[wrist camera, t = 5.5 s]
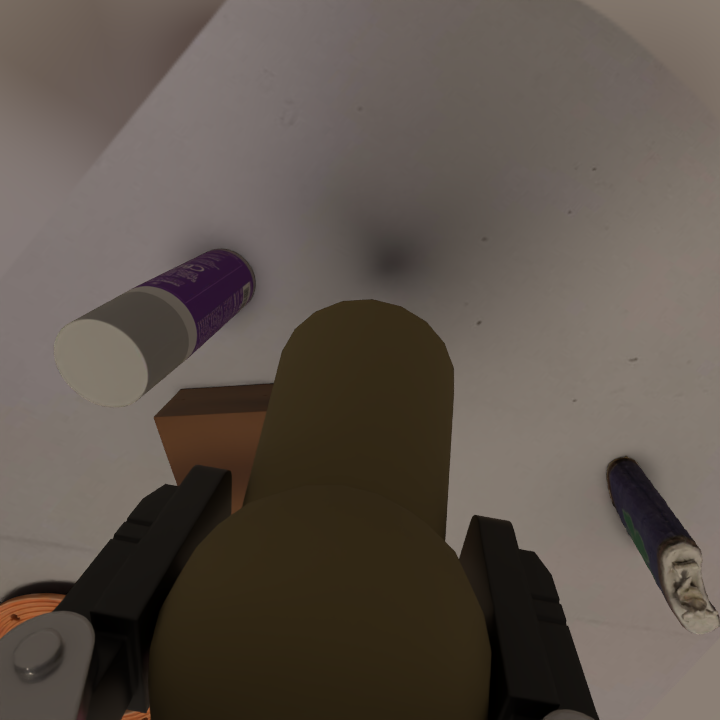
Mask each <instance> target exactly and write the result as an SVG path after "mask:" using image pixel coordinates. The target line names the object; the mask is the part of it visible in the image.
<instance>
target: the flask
mask: <svg viewBox="0 0 720 720" xmlns="http://www.w3.org/2000/svg"><path fill="white" fill-rule="evenodd" d="M607 482H608V490H609V494H610V498H611V499H612V503H613V506H614V507H615V508H616V511H617V512H618V514H619V516H620V519H621V521H622V523H623V525H624V526H625V528H626V530H627V532H628V534H629V535H630V537H631V538H632V540H633V542H634V544H635V545H636V547H637V549H638V550H639V552H640V554H641V555H642V557H643V559H644V561H645V563H646V565H647V567H648V568H649V570H650V571H651V573H652V575H653V577H654V579H655V581H656V584H657V585H658V587H659V588H660V590H661V591H662V593H663V595H664V597H665V599H666V601H667V603H668V605H669V607H670V608H671V610H672V612H673V613H674V614H675V616H676V617H677V619H678V620H679V622H680V623H681V625H682V626H683V627H684V628H685V629H686V630H688V631H689V632H691V633H694V634H706V633H708V632H711V631H714V630H715V629H716V628H718V627H720V620H719V615H718V611H716V609H715V607H714V606H713V605H712V604H711V603H710V601H709V599H708V595H707V594H706V591H705V588H704V584H703V580H702V575H701V567H702V566H701V563H702V561H703V560H702V554H701V550H700V549H699V547H698V546H697V545H696V543H695V541H694V540H693V539H692V538H691V536H690V535H689V533H688V532H687V530H685V529H684V527H683V526H682V524H681V523H680V521H679V520H678V518H676V517H675V515H674V513H673V512H672V511H671V509H670V508H669V507H668V505H667V503H666V502H665V500H664V499H663V498H662V497H661V495H660V494H659V493H658V491H657V490H656V489H655V488H654V486H653V485H652V483H651V482H650V480H649V479H648V478H647V477H646V475H645V474H644V472H643V471H642V469H641V468H640V467H639V466H638V463H637V462H636V461H635V460H632V459H631V458H628V457H627V456H625V457H624V458H618V459H615V460H614V461H612V462H611V463H610V464H609V466H608V468H607Z"/></svg>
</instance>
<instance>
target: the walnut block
mask: <svg viewBox="0 0 720 720" xmlns="http://www.w3.org/2000/svg"><path fill="white" fill-rule="evenodd" d="M273 385H274V384H260V385H244V386H228V387H212V388H196V389H181V390H180V391H179V392H178V393H177V394H176V395H175V396H174V397H173V398H172V399H171V400H170V401H169V402H168V403H167V404H166V405H165V406H164V407H163V408H162V409H161V410H160V411H159V412H158V413H157V414H156V415H155V416H154V420H155V423H156V426H157V429H158V432H159V434H160V437H161V440H162V443H163V446H164V449H165V451H166V454H167V457H168V460H169V463H170V466H171V469H172V471H173V474H174V477H175V480H176V483H177V486H179V485H180V484H181V483H182V481H183V480H184V478H185V477H186V476H187V474H188V473H189V471H190V470H191V469H192V468H193V467H194V466H195V465H203V466H209V467H215V468H220V469H226V470H230V471H231V473H232V508H231V515H232V514H233V513H235V512H236V511H238V510H239V509H241V508H242V504H243V501H244V497H245V493H246V489H247V485H248V481H249V477H250V474H251V470H252V466H253V462H254V458H255V454H256V450H257V447H258V443H259V439H260V435H261V431H262V427H263V423H264V420H265V416H266V412H267V408H268V404H269V400H270V396H271V393H272V389H273Z"/></svg>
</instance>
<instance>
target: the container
mask: <svg viewBox="0 0 720 720" xmlns="http://www.w3.org/2000/svg"><path fill="white" fill-rule="evenodd" d="M254 291H255V277H254V273H253V271H252V269H251V267H250V265H249V264H248V263H247V261H246V260H245V259H244V258H243V257H241V256H240V255H239V254H237V253H235V252H233V251H230V250H227V249H214V250H211V251H209V252H206V253H204V254H202V255H200V256H198V257H196V258H194V259H192V260H190V261H188V262H186V263H184V264H182V265H179V266H177V267H175V268H173V269H171V270H169V271H167V272H165V273H163V274H161V275H159V276H157V277H155V278H153V279H151V280H149V281H147V282H145V283H143V284H141V285H139V286H137V287H134V288H132V289H131V290H129V291H127V292H125V293H124V294H122V295H120V296H118V297H116V298H114V299H113V300H111V301H109V302H107V303H105V304H103V305H102V306H100V307H98V308H96V309H94V310H92V311H91V312H89V313H87V314H85V315H83V316H82V317H80V318H78V319H76V320H74V321H72V322H71V323H69V324H67V325H66V326H65V327H63V328H62V329H61V331H60V332H59V334H58V335H57V337H56V340H55V344H54V357H55V362H56V365H57V368H58V370H59V372H60V374H61V376H62V377H63V379H64V380H65V381H66V383H67V384H68V385H69V386H70V387H71V388H72V389H73V390H74V391H75V392H76V393H77V394H79V395H80V396H82V397H83V398H85V399H86V400H88V401H90V402H92V403H95V404H97V405H101V406H105V407H124V406H128V405H130V404H132V403H134V402H136V401H137V400H138V399H140V398H141V397H142V396H143V395H144V394H145V393H147V392H148V391H149V390H150V389H151V388H153V387H154V386H155V385H156V384H157V383H159V382H160V381H161V380H162V379H163V378H165V377H166V376H167V375H168V374H169V373H171V372H172V371H173V370H174V369H175V368H177V367H178V366H179V365H180V364H181V363H183V362H184V361H185V360H186V359H188V358H189V357H190V356H191V355H192V354H193V353H194V352H195V351H196V350H197V349H198V348H200V347H201V346H202V345H203V344H204V343H205V342H206V341H207V340H208V339H209V338H210V337H212V336H213V335H214V334H215V333H216V332H217V331H218V330H219V329H220V328H221V327H222V326H223V325H225V324H226V323H227V322H228V321H229V320H230V319H231V318H232V317H233V316H234V315H235V314H237V313H238V312H239V311H240V310H241V309H242V308H243V307H244V306H245V305H246V304H247V303H248V302H249V301H250V300H251V298H252V296H253V294H254Z"/></svg>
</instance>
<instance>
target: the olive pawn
mask: <svg viewBox="0 0 720 720" xmlns="http://www.w3.org/2000/svg"><path fill="white" fill-rule="evenodd" d="M453 400H454V367H453V365H452V362H451V359H450V357H449V354H448V351H447V349H446V346H445V343H444V342H443V341H442V340H441V339H440V337H439V336H438V335H437V334H436V333H435V331H434V330H433V329H432V328H431V327H430V326H429V324H428V323H427V322H426V321H424V320H423V319H421V318H419V317H418V316H416V315H414V314H413V313H411V312H409V311H408V310H406V309H405V308H403V307H401V306H397V305H393V304H389V303H385V302H381V301H377V300H373V299H370V300H353V301H342V302H339V303H337V304H334V305H331V306H329V307H326V308H324V309H321V310H319V311H316V312H315V313H314V314H312V315H311V316H310V317H309V318H308V319H306V320H305V321H304V322H303V323H302V324H300V325H299V326H298V327H297V328H296V329H295V330H294V332H293V333H292V335H291V337H290V339H289V340H288V342H287V344H286V346H285V347H284V349H283V351H282V354H281V358H280V362H279V366H278V369H277V373H276V377H275V381H274V385H273V389H272V393H271V396H270V400H269V404H268V408H267V412H266V416H265V420H264V423H263V427H262V431H261V435H260V439H259V443H258V447H257V450H256V454H255V458H254V462H253V466H252V470H251V474H250V477H249V481H248V485H247V489H246V493H245V497H244V501H243V504H242V508H241V509H239V510H238V511H236V512H235V513H233V514H232V515H231V516H229V517H228V518H226V519H225V520H224V521H222V522H221V523H219V524H218V525H217V526H216V527H215V528H214V529H213V530H212V531H211V532H210V533H209V534H208V535H207V536H206V538H205V539H204V540H203V541H202V542H201V543H200V544H199V545H198V546H197V547H196V548H195V550H194V552H193V553H192V555H191V556H190V558H189V560H188V561H187V563H186V565H185V566H184V568H183V569H182V571H181V573H180V574H179V576H178V577H177V579H176V581H175V583H174V585H173V587H172V588H171V590H170V592H169V594H168V596H167V597H166V599H165V601H164V603H163V605H162V607H161V608H160V610H159V614H158V618H157V622H156V626H155V630H154V634H153V638H152V642H151V646H150V652H149V671H148V690H149V705H150V719H151V720H488V711H489V695H490V677H491V653H492V652H491V647H490V642H489V637H488V632H487V627H486V621H485V616H484V614H483V611H482V609H481V607H480V605H479V602H478V600H477V598H476V596H475V593H474V591H473V589H472V587H471V585H470V582H469V580H468V578H467V576H466V574H465V572H464V569H463V567H462V565H461V563H460V561H459V559H458V557H457V555H456V552H455V551H454V550H453V549H452V548H451V547H450V546H449V545H448V544H447V543H446V542H445V536H446V519H447V502H448V485H449V468H450V451H451V434H452V417H453Z"/></svg>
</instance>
